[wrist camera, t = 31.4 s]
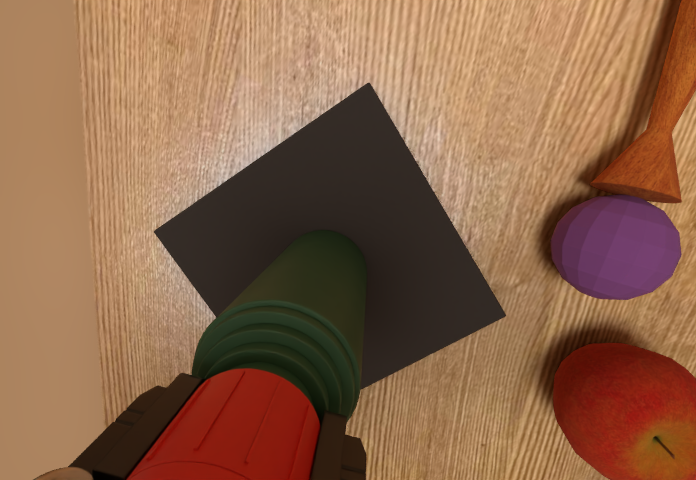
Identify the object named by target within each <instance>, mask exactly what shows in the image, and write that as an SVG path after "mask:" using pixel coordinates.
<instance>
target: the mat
mask: <svg viewBox="0 0 696 480" xmlns="http://www.w3.org/2000/svg"><path fill="white" fill-rule="evenodd" d="M317 230H328V231H334V232H337V233H340V234H342V235H344V236H346V237H348V238H349V239H350V240H352V241H353V242H354V243H355V244H356V245H357V247H358V248H359V249H360V251H361V252H362V254H363V256H364V259H365V262H366V266H367V286H366V303H365V320H364V337H363V354H362V371H361V388H360V390H361V389H363V388H365V387H367V386H369V385H371V384H373V383H375V382H377V381H379V380H381V379H383V378H385V377H387V376H389V375H391V374H393V373H395V372H397V371H399V370H401V369H402V368H404V367H406V366H408V365H410V364H412V363H414V362H416V361H418V360H420V359H422V358H424V357H426V356H428V355H430V354H432V353H434V352H436V351H438V350H440V349H442V348H444V347H446V346H448V345H450V344H452V343H454V342H456V341H458V340H460V339H462V338H464V337H466V336H468V335H470V334H472V333H474V332H476V331H477V330H479V329H481V328H483V327H485V326H487V325H489V324H491V323H493V322H495V321H497V320H499V319H501V318H503V317H505V316H506V314H505V313H504V311H503V309H502V308H501V306H500V304H499V303H498V301H497V299H496V297H495V296H494V294H493V292H492V291H491V289H490V287H489V285H488V284H487V282H486V280H485V279H484V277H483V275H482V274H481V272H480V270H479V268H478V267H477V265H476V263H475V262H474V260H473V258H472V256H471V255H470V253H469V251H468V250H467V248H466V246H465V245H464V243H463V241H462V239H461V238H460V236H459V234H458V233H457V231H456V229H455V227H454V226H453V224H452V222H451V221H450V219H449V217H448V216H447V214H446V212H445V210H444V209H443V207H442V205H441V204H440V202H439V200H438V198H437V197H436V195H435V193H434V192H433V190H432V188H431V187H430V185H429V183H428V181H427V180H426V178H425V176H424V175H423V173H422V171H421V169H420V168H419V166H418V164H417V163H416V161H415V159H414V158H413V156H412V154H411V152H410V151H409V149H408V147H407V146H406V144H405V142H404V140H403V139H402V137H401V135H400V134H399V132H398V130H397V129H396V127H395V125H394V123H393V122H392V120H391V118H390V117H389V115H388V113H387V112H386V110H385V108H384V106H383V105H382V103H381V101H380V100H379V98H378V96H377V94H376V93H375V91H374V89H373V88H372V86H371V84H370V83H367V84H366V85H364V86H363V87H361V88H360V89H358V90H357V91H356V92H354V93H353V94H351V95H350V96H348V97H347V98H345V99H344V100H343V101H341V102H340V103H338V104H337V105H335V106H334V107H332V108H331V109H330V110H328V111H327V112H325V113H324V114H322V115H321V116H319V117H318V118H317V119H315V120H314V121H312V122H311V123H309V124H308V125H306V126H305V127H304V128H302V129H301V130H299V131H298V132H296V133H295V134H293V135H292V136H291V137H289V138H288V139H286V140H285V141H283V142H282V143H281V144H279V145H278V146H276V147H275V148H273V149H272V150H270V151H269V152H268V153H266V154H265V155H263V156H262V157H260V158H259V159H257V160H256V161H255V162H253V163H252V164H250V165H249V166H247V167H246V168H244V169H243V170H242V171H240V172H239V173H237V174H236V175H234V176H233V177H231V178H230V179H229V180H227V181H226V182H224V183H223V184H221V185H220V186H218V187H217V188H216V189H214V190H213V191H211V192H210V193H208V194H207V195H205V196H204V197H203V198H201V199H200V200H198V201H197V202H195V203H194V204H193V205H191V206H190V207H188V208H187V209H185V210H184V211H182V212H181V213H180V214H178V215H177V216H175V217H174V218H172V219H171V220H169V221H168V222H167V223H165V224H164V225H162V226H161V227H159V228H158V229H156V230H155V231H154V233H155V234H156V236H157V237H158V238H159V240H160V241H161V242H162V244H163V245H164V246H165V248H166V249H167V251H168V252H169V253H170V255H171V256H172V257H173V259H174V260H175V261H176V263H177V264H178V266H179V267H180V268H181V270H182V271H183V272H184V274H185V275H186V276H187V278H188V279H189V281H190V282H191V283H192V285H193V286H194V287H195V289H196V290H197V291H198V293H199V294H200V296H201V297H202V298H203V300H204V301H205V302H206V304H207V305H208V306H209V308H210V309H211V311H212V312H213V313H214V315H215V316H216V317H218V316H219V315H220V314H221V313H222V312H223V311H224V310H225V309H226V308H227V307H228V306H229V305H230V304H231V303H232V302H233V301H234V300H235V299H236V298H237V297H238V296H239V295H240V294H241V293H242V292H243V291H244V290H245V289H246V288H247V287H248V286H249V285H250V284H251V283H252V282H253V281H254V280H255V279H256V278H257V277H258V276H259V275H260V274H261V273H262V272H263V271H264V270H265V269H266V268H267V267H268V266H269V265H270V264H271V263H272V262H273V261H274V260H275V259H276V258H277V257H278V256H279V255H280V254H281V253H282V252H283V251H284V250H285V249H286V248H287V247H288V246H289V245H290V244H292V243H293V242H294V241H295V240H296V239H297V238H298V237H300V236H302V235H303V234H306V233H308V232H312V231H317Z"/></svg>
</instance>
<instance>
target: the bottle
mask: <svg viewBox="0 0 696 480" xmlns="http://www.w3.org/2000/svg"><path fill="white" fill-rule="evenodd" d="M366 286H367V266H366V262H365V259H364V256H363V254H362V252H361V251H360V249H359V248H358V247H357V245H356V244H355V243H354V242H353V241H352V240H350V239H349V238H348V237H346V236H344V235H342V234H340V233H337V232H334V231H328V230H317V231H312V232H308V233H306V234H303V235H302V236H300V237H298V238H297V239H296V240H295V241H294V242H293V243H292V244H290V245H289V246H288V247H287V248H286V249H285V250H284V251H283V252H282V253H281V254H280V255H279V256H278V257H277V258H276V259H275V260H274V261H273V262H272V263H271V264H270V265H269V266H268V267H267V268H266V269H265V270H264V271H263V272H262V273H261V274H260V275H259V276H258V277H257V278H256V279H255V280H254V281H253V282H252V283H251V284H250V285H249V286H248V287H247V288H246V289H245V290H244V291H243V292H242V293H241V294H240V295H239V296H238V297H237V298H236V299H235V300H234V301H233V302H232V303H231V304H230V305H229V306H228V307H227V308H226V309H225V310H224V311H223V312H222V313H221V314H220V315H219V316H218V317H217V318H216V319H215V320H214V321H213V322H212V323H211V324H210V325H209V326H208V327H207V329H206V330H205V332H204V333H203V335H202V337H201V339H200V341H199V343H198V346H197V349H196V352H195V357H194V361H193V367H192V375H193V376H196V377H200V378H204V379H206V380H207V379H209V378H211V377H213V376H215V375H217V374H219V373H222V372H225V371H228V370H234V369H245V368H247V369H258V370H263V371H267V372H270V373H273V374H276V375H278V376H280V377H282V378H284V379H286V380H287V381H289V382H291V383H292V384H293V385H295V386H296V387H297V388H298V389H299V390H300V391H301V392H302V393H303V394H304V395H305V396H306V397H307V398H308V400H309V401H310V403H311V404H312V406H313V407H314V409H315V412H316V414H317V416H318V419H319V423H320V425H321V421H322V417H323V413H324V410H327V411H330V412H334V413H338V414H342V415H346V416H347V422H348V420H349V419H350V417H351V416H352V414H353V412H354V410H355V408H356V405H357V402H358V399H359V394H360V388H361V371H362V354H363V337H364V320H365V303H366ZM347 422H346V423H347Z"/></svg>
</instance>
